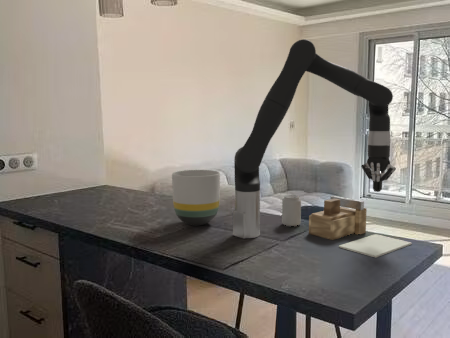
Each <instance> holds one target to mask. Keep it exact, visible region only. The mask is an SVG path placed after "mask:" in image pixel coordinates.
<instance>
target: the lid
mask: <svg viewBox="0 0 450 338" xmlns="http://www.w3.org/2000/svg"><path fill="white" fill-rule="evenodd" d="M355 213H356V209H352V208H347V207H342V206H340V199H325V200H324V201H323V211H322V210H321V211H317V212H313V213H311V214H310V215H311V216H313V217H317V218H321V219H325V220H330V221H331V220H336V219H340V218H343V217H347V216H351V215H355Z"/></svg>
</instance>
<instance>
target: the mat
mask: <svg viewBox="0 0 450 338" xmlns="http://www.w3.org/2000/svg"><path fill="white" fill-rule="evenodd" d="M412 244H413V243H412V242H410V241H406V240H403V239H402V240H401V239H398V238H393V237H388V236H385V235H380V234H378V233H377V234H376V233H374V234H371V235H369V236H365V237H362V238H358V239H355V240H352V241H350V242H346V243H343V244H340V245H338V248H340V249H342V250H343V249H344V250H348V251H351V252H355V253H357V254H362V255H365V256H367V257H372V258H375V259H376V258H379V257H382V256H384V255H386V254H390V253H392V252H395V251H398V250H400V249H403V248H406V247H409V246H410V245H412Z"/></svg>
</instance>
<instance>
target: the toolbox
mask: <svg viewBox="0 0 450 338" xmlns="http://www.w3.org/2000/svg"><path fill="white" fill-rule="evenodd" d="M355 210H356V213H355V215H351V216H347V217H343V218H340V219H336V220H331V221H330V220H325V219H321V218H317V217H313V216H311V214H310V215H308V235H312V236H315V237H319V238H323V239H327V240H330V241H335V240H338V239H340V238H341V237H342V238H344V236H345V237H348V236H347V235H349V236H351V235H350V234H352V235H358V234H360V235H363V234H365V233H366V232H367V211H368V210H367V208H366V207H364V210H360V209H355ZM354 233H355V234H354ZM342 238H341V239H342Z"/></svg>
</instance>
